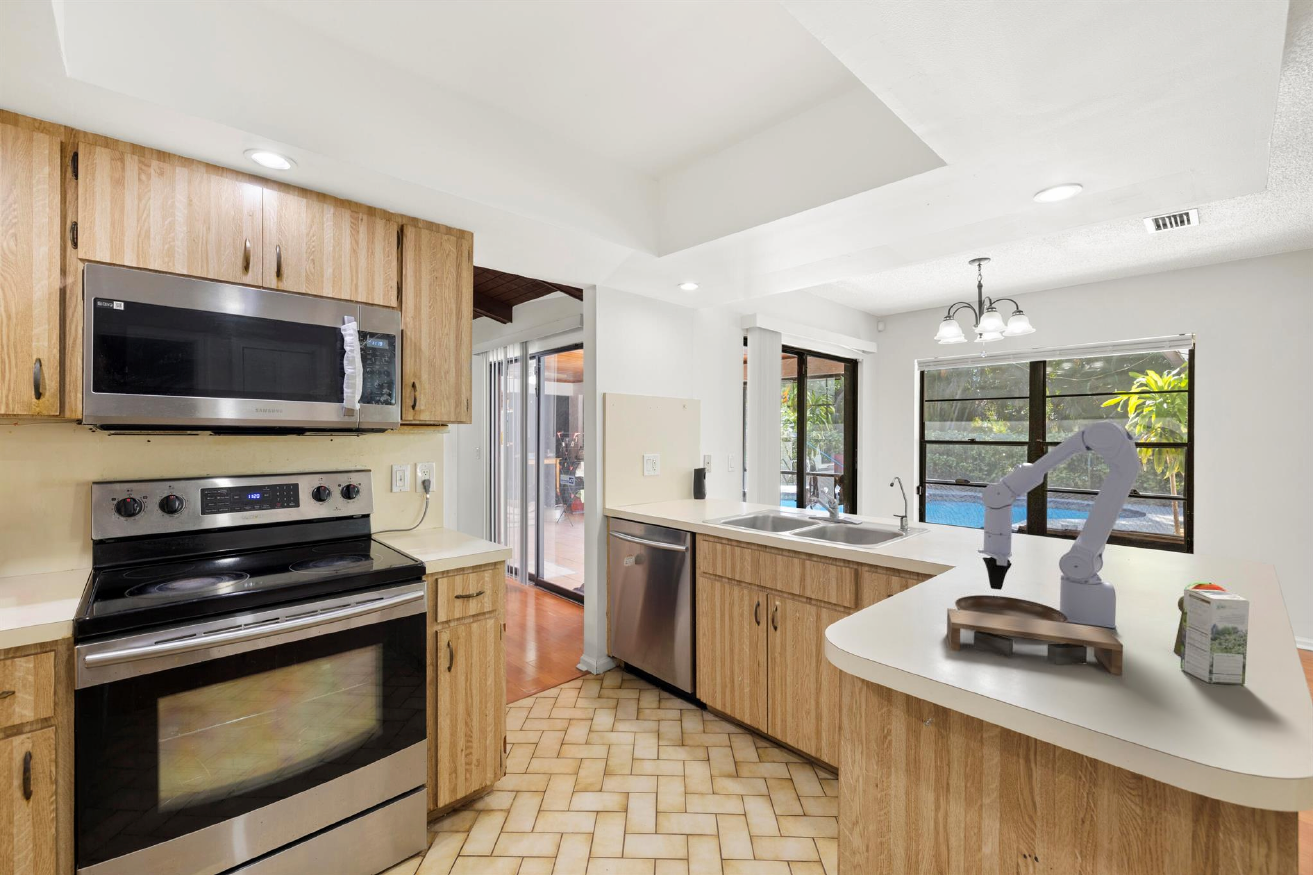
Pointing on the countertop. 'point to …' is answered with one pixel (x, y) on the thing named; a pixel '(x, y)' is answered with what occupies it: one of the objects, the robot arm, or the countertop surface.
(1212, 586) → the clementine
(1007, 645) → the walnut shelf
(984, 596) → the plant saucer
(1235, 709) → the countertop surface
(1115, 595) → the robot arm
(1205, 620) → the syrup box
